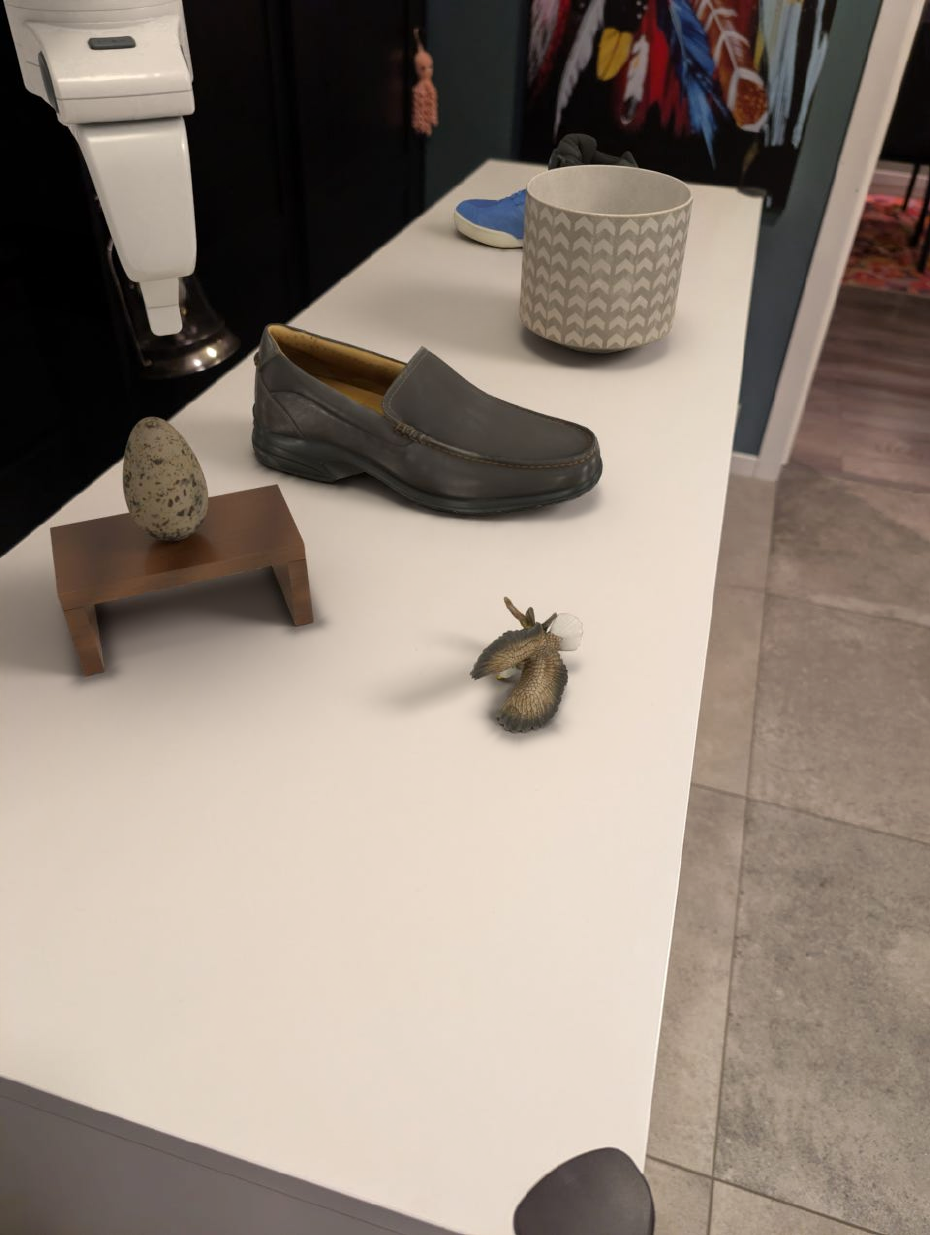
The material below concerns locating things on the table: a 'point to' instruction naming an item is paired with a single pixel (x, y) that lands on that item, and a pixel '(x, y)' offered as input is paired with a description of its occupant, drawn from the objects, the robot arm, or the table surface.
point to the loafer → (410, 428)
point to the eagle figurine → (531, 666)
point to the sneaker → (506, 216)
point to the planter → (603, 255)
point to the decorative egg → (163, 481)
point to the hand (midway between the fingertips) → (154, 300)
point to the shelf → (175, 560)
